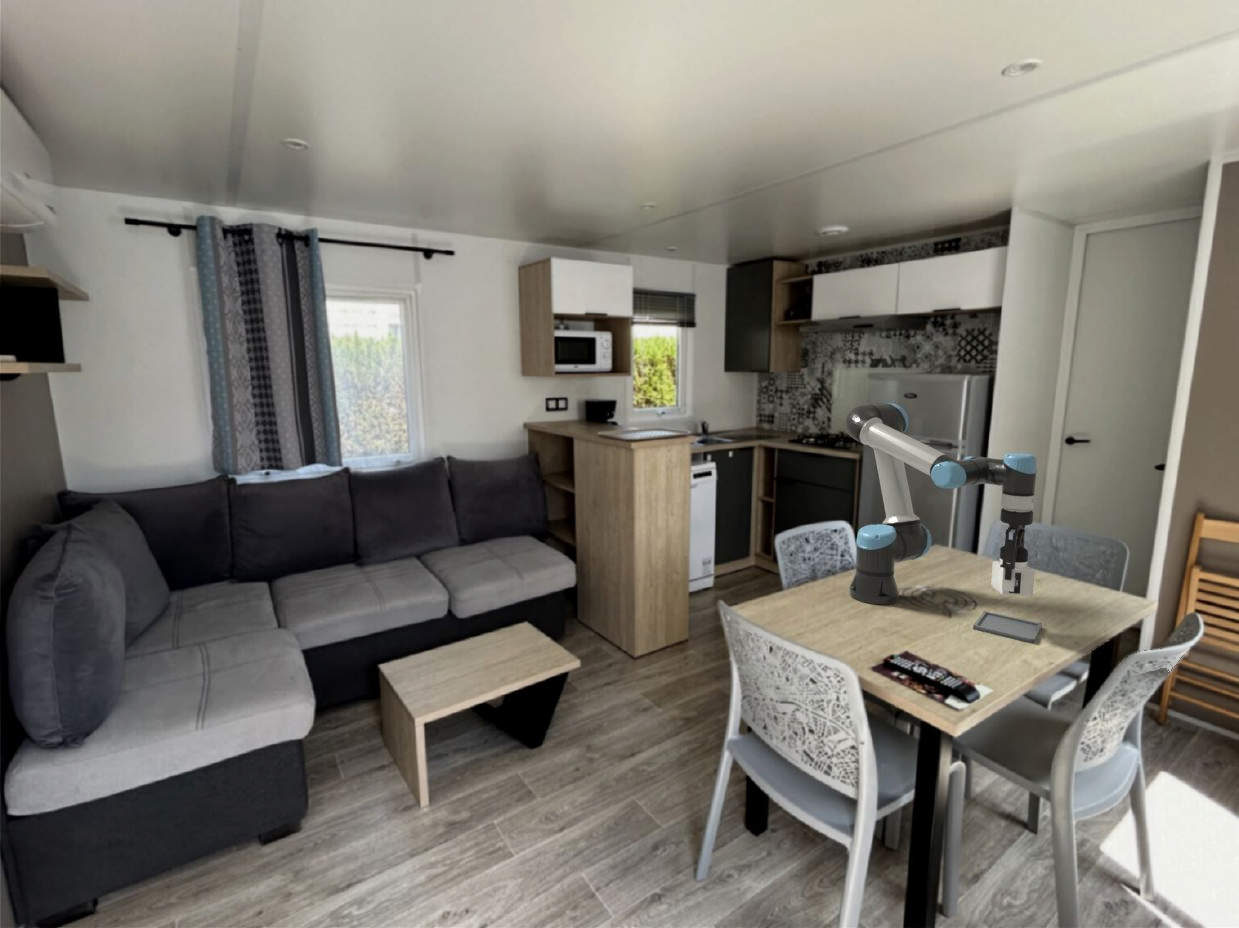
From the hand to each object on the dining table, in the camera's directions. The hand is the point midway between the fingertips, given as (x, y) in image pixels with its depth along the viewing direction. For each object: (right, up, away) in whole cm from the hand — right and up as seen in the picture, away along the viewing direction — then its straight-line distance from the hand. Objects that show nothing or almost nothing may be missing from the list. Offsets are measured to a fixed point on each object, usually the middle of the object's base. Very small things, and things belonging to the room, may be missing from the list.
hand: (1011, 585), depth 167 cm
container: (0, -2, 0) cm, 2 cm away
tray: (0, -13, +2) cm, 13 cm away
